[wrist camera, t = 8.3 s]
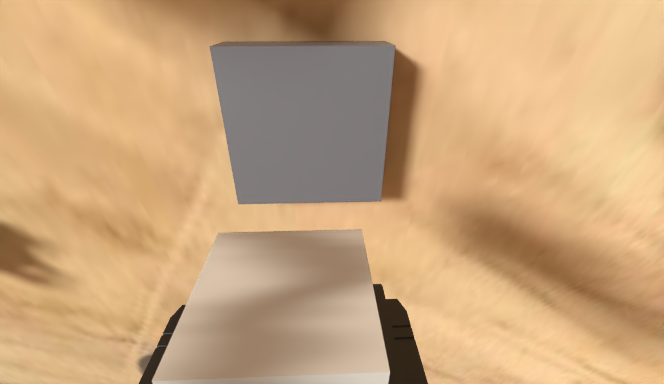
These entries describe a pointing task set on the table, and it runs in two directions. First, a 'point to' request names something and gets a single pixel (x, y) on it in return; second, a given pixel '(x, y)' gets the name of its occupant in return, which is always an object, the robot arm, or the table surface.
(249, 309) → the ash cube
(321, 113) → the block
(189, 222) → the table surface
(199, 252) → the table surface
